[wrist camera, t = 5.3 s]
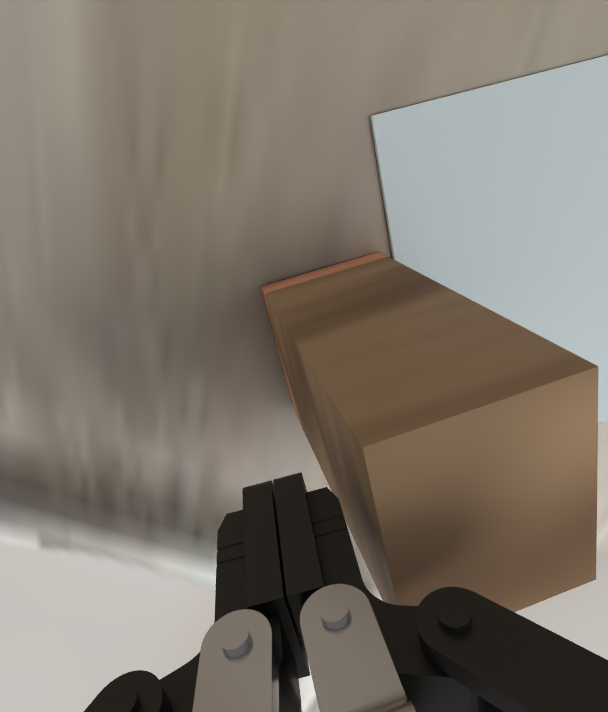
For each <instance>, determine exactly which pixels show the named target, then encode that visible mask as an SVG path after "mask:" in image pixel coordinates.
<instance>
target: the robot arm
mask: <svg viewBox="0 0 608 712" xmlns="http://www.w3.org/2000/svg"><path fill="white" fill-rule="evenodd" d="M273 484H274V485H273ZM217 550H218V552H217V569H216V599H215V622H214V624H213V625H212V627H211V628H210V629H209V630H208V632H207V633H206V635H205V637H204V639H203V642H202V646H201V651H200V652H199V654H198V655H196V656H195V657H194V658H193V659H192V660H191V661H189V662H188V663H186V664H185V665H183V666H182V667H180V668H179V669H177V670H175V671H174V672H172V673H171V674H169V675H167V676H165V677H164V678H162V679H160V680H159V679H158V678H157V677H156V676H155V675H154V674H152V673H150V672H147V671H142V670H140V671H132V672H128V673H126V674H123V675H121V676H119V677H118V678H116V679H115V680H113V681H112V682H110V683H109V684H108V685H107V686H106V687H105V688H104V689H103V690H102V691H101V692H100V693H99V694H98V695H97V697H96V698H95V699H94V700H93V701H92V703H91V704H90V705H89V706H88V707H87V709H86V710H85V711H84V712H302V709H301V697H300V689H299V681H298V679H299V678H302V677H306V676H309V675H310V671H309V666H310V670H311V675H312V679H313V683H314V688H315V692H316V697H317V701H318V705H319V710H320V712H608V660H606V659H604V658H602V657H600V656H598V655H596V654H594V653H592V652H590V651H588V650H587V649H585V648H583V647H581V646H579V645H577V644H575V643H573V642H571V641H569V640H567V639H565V638H563V637H561V636H559V635H557V634H556V633H554V632H552V631H550V630H548V629H546V628H544V627H542V626H540V625H538V624H536V623H534V622H532V621H530V620H528V619H526V618H524V617H522V616H520V615H518V614H516V613H515V612H513V611H511V610H509V609H507V608H505V607H503V606H501V605H499V604H497V603H495V602H493V601H491V600H489V599H487V598H485V597H483V596H481V595H479V594H477V593H476V592H473V591H471V590H469V589H465V588H462V587H444V588H440V589H437V590H435V591H433V592H431V593H429V594H428V595H427V596H426V597H425V598H424V599H423V600H422V601H421V603H420V604H419V606H404V605H394V604H389V603H386V602H384V601H381V600H380V599H378V598H376V597H375V596H374V595H372V594H371V593H370V592H369V591H368V590H367V588H366V587H365V585H364V583H363V580H362V577H361V574H360V570H359V567H358V563H357V560H356V556H355V553H354V549H353V546H352V543H351V539H350V536H349V532H348V529H347V525H346V522H345V518H344V515H343V511H342V508H341V505H340V501H339V498H338V497H336V496H335V495H334V494H333V493H332V492H331V491H330V490H329V489H328V488H327V487H325V488H322V489H318V490H314V491H310V492H307V490H306V487H305V483H304V480H303V476H302V473H297V474H293V475H289V476H286V477H282V478H278V479H274V480H273V483H272V481H267V482H264V483H260V484H256V485H252V486H249V487H245V488H243V510H240V511H236V512H232V513H229V514H226V516H225V518H224V520H223V522H222V524H221V526H220V528H219V530H218V539H217ZM308 662H309V664H308Z"/></svg>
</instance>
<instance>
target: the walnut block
mask: <svg viewBox="0 0 608 712" xmlns="http://www.w3.org/2000/svg"><path fill="white" fill-rule="evenodd" d="M261 290H262V294H263V297H264V301H265V304H266V308H267V312H268V315H269V319H270V322H271V326H272V330H273V333H274V337H275V340H276V344H277V348H278V351H279V355H280V358H281V362H282V366H283V369H284V373H285V376H286V380H287V384H288V387H289V391H290V394H291V398H292V402H293V405H294V409H295V412H296V415H297V417H298V420H299V422H300V424H301V426H302V428H303V430H304V432H305V435H306V437H307V439H308V441H309V443H310V445H311V447H312V450H313V452H314V454H315V456H316V458H317V460H318V462H319V465H320V467H321V469H322V471H323V473H324V475H325V477H326V480H327V482H328V484H329V486H330V488H331V490H332V492H333V494H334V495H335V496H336V497H338V498H339V501H340V505H341V508H342V511H343V515H344V518H345V520H346V522H347V524H348V527H349V529H350V531H351V533H352V535H353V537H354V539H355V542H356V544H357V546H358V548H359V550H360V552H361V554H362V557H363V559H364V561H365V563H366V565H367V567H368V569H369V572H370V574H371V576H372V578H373V580H374V582H375V584H376V587H377V589H378V591H379V593H380V595H381V597H382V599H383V601H384V602H386V603H389V604H394V605H404V606H419V604H420V603H421V601H422V600H423V599H424V598H425V597H426V596H427V595H428V594H429V593H431V592H433V591H435V590H437V589H440V588H444V587H462V588H465V589H469V590H471V591H473V592H476V593H477V594H479V595H481V596H483V597H485V598H487V599H489V600H491V601H493V602H495V603H497V604H499V605H501V606H503V607H505V608H507V609H509V610H511V611H513V612H515V611H518V610H521V609H523V608H525V607H528V606H531V605H533V604H536V603H538V602H540V601H543V600H546V599H548V598H550V597H553V596H556V595H558V594H560V593H563V592H566V591H568V590H571V589H573V588H575V587H578V586H580V585H583V584H586V583H588V582H590V581H593V580H595V579H596V530H597V449H598V368H599V366H597V365H595V364H593V363H591V362H589V361H587V360H585V359H583V358H581V357H580V356H578V355H576V354H574V353H572V352H570V351H568V350H566V349H564V348H562V347H560V346H558V345H557V344H555V343H553V342H551V341H549V340H547V339H545V338H543V337H541V336H539V335H537V334H536V333H534V332H532V331H530V330H528V329H526V328H524V327H522V326H520V325H518V324H516V323H514V322H513V321H511V320H509V319H507V318H505V317H503V316H501V315H499V314H497V313H495V312H493V311H491V310H490V309H488V308H486V307H484V306H482V305H480V304H478V303H476V302H474V301H472V300H470V299H468V298H467V297H465V296H463V295H461V294H459V293H457V292H455V291H453V290H451V289H449V288H447V287H445V286H444V285H442V284H440V283H438V282H436V281H434V280H432V279H430V278H428V277H426V276H424V275H423V274H421V273H419V272H417V271H415V270H413V269H411V268H409V267H407V266H405V265H403V264H401V263H400V262H398V261H396V260H394V259H392V258H390V257H388V256H386V255H384V254H382V253H380V252H376V253H373V254H370V255H366V256H363V257H359V258H356V259H353V260H349V261H346V262H343V263H339V264H336V265H332V266H329V267H326V268H322V269H319V270H316V271H312V272H309V273H305V274H302V275H299V276H295V277H292V278H289V279H285V280H282V281H279V282H275V283H272V284H268V285H265V286H262V287H261Z"/></svg>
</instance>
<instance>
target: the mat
mask: <svg viewBox="0 0 608 712" xmlns="http://www.w3.org/2000/svg"><path fill="white" fill-rule="evenodd" d="M370 120H371V127H372V133H373V139H374V145H375V152H376V158H377V164H378V170H379V176H380V183H381V189H382V195H383V201H384V207H385V214H386V220H387V226H388V232H389V239H390V245H391V251H392V257H393V259H394V260H396V261H398V262H400V263H401V264H403V265H405V266H407V267H409V268H411V269H413V270H415V271H417V272H419V273H421V274H423V275H424V276H426V277H428V278H430V279H432V280H434V281H436V282H438V283H440V284H442V285H444V286H445V287H447V288H449V289H451V290H453V291H455V292H457V293H459V294H461V295H463V296H465V297H467V298H468V299H470V300H472V301H474V302H476V303H478V304H480V305H482V306H484V307H486V308H488V309H490V310H491V311H493V312H495V313H497V314H499V315H501V316H503V317H505V318H507V319H509V320H511V321H513V322H514V323H516V324H518V325H520V326H522V327H524V328H526V329H528V330H530V331H532V332H534V333H536V334H537V335H539V336H541V337H543V338H545V339H547V340H549V341H551V342H553V343H555V344H557V345H558V346H560V347H562V348H564V349H566V350H568V351H570V352H572V353H574V354H576V355H578V356H580V357H581V358H583V359H585V360H587V361H589V362H591V363H593V364H595V365H597V366H599V368H598V423H599V422H602V421H606V420H608V55H606V56H602V57H598V58H594V59H590V60H586V61H582V62H578V63H575V64H571V65H567V66H563V67H559V68H555V69H551V70H547V71H543V72H540V73H536V74H532V75H528V76H524V77H520V78H516V79H512V80H508V81H504V82H501V83H497V84H493V85H489V86H485V87H481V88H477V89H473V90H469V91H465V92H462V93H458V94H454V95H450V96H446V97H442V98H438V99H434V100H430V101H426V102H423V103H419V104H415V105H411V106H407V107H403V108H399V109H395V110H391V111H387V112H384V113H380V114H376V115H372V116H370Z"/></svg>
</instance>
